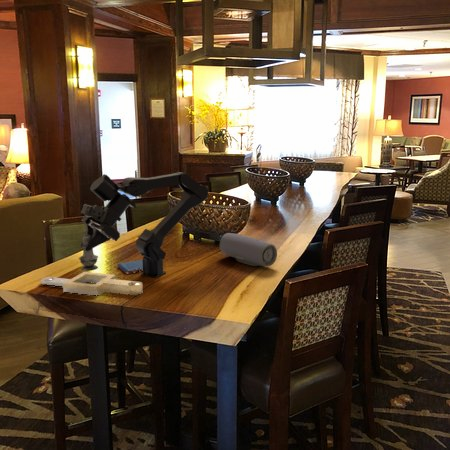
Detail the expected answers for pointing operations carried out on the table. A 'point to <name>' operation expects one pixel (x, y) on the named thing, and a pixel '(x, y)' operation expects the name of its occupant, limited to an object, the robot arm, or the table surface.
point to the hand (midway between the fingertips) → (83, 248)
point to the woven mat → (131, 266)
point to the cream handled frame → (60, 283)
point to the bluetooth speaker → (248, 250)
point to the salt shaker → (88, 256)
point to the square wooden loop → (104, 284)
